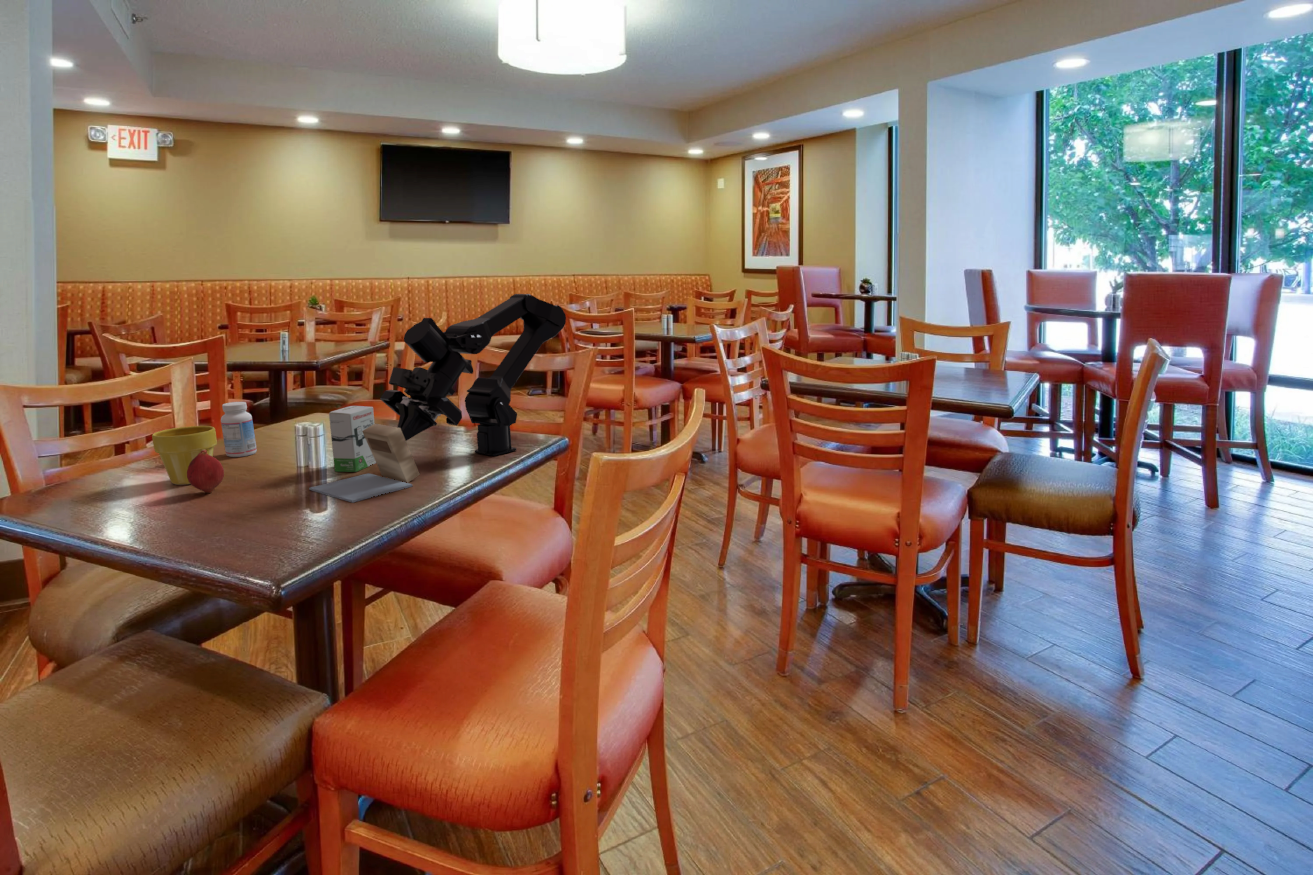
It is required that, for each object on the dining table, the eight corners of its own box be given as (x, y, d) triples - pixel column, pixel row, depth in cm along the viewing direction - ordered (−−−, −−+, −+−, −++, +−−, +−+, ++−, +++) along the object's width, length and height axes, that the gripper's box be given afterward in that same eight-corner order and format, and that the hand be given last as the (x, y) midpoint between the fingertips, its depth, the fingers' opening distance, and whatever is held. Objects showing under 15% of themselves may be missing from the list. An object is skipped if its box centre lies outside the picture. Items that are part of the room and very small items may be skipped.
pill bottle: (250, 449, 179) (244, 400, 176) (261, 453, 175) (254, 402, 172) (221, 454, 175) (214, 404, 172) (231, 459, 170) (224, 407, 168)
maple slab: (394, 468, 156) (375, 423, 151) (419, 474, 151) (400, 428, 146) (381, 476, 153) (361, 431, 149) (406, 483, 149) (386, 436, 144)
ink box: (356, 472, 157) (349, 413, 154) (333, 472, 158) (326, 412, 155) (379, 461, 165) (374, 405, 162) (358, 461, 166) (351, 404, 163)
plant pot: (176, 474, 159) (169, 426, 156) (231, 472, 159) (224, 424, 157) (148, 489, 149) (140, 437, 146) (207, 486, 149) (199, 435, 147)
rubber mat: (368, 475, 155) (368, 473, 154) (412, 486, 146) (412, 484, 146) (309, 489, 145) (309, 487, 145) (352, 502, 137) (352, 500, 137)
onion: (189, 499, 141) (182, 455, 140) (190, 491, 146) (184, 448, 145) (226, 494, 144) (220, 450, 142) (226, 486, 149) (220, 444, 147)
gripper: (384, 348, 157) (338, 413, 151) (444, 353, 145) (396, 423, 139) (421, 383, 164) (379, 446, 158) (481, 391, 153) (437, 458, 147)
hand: (396, 443), depth 150 cm, fingers closed
